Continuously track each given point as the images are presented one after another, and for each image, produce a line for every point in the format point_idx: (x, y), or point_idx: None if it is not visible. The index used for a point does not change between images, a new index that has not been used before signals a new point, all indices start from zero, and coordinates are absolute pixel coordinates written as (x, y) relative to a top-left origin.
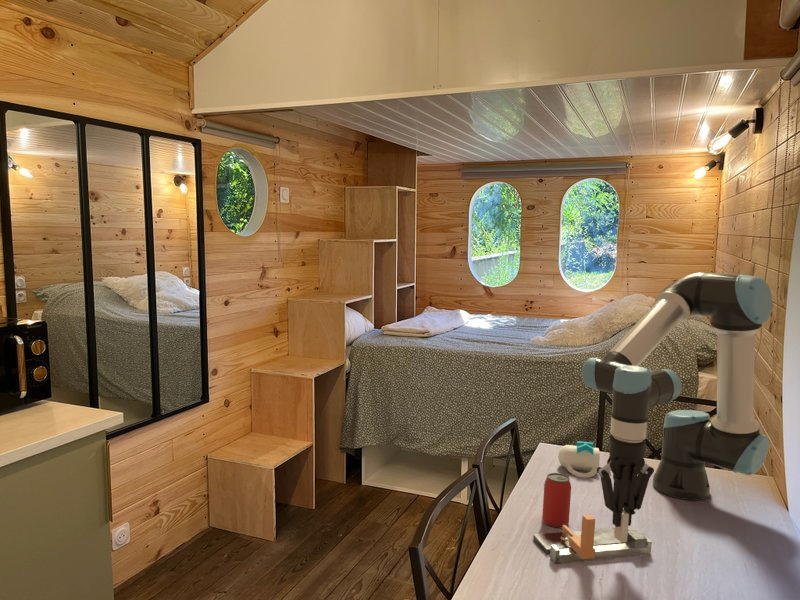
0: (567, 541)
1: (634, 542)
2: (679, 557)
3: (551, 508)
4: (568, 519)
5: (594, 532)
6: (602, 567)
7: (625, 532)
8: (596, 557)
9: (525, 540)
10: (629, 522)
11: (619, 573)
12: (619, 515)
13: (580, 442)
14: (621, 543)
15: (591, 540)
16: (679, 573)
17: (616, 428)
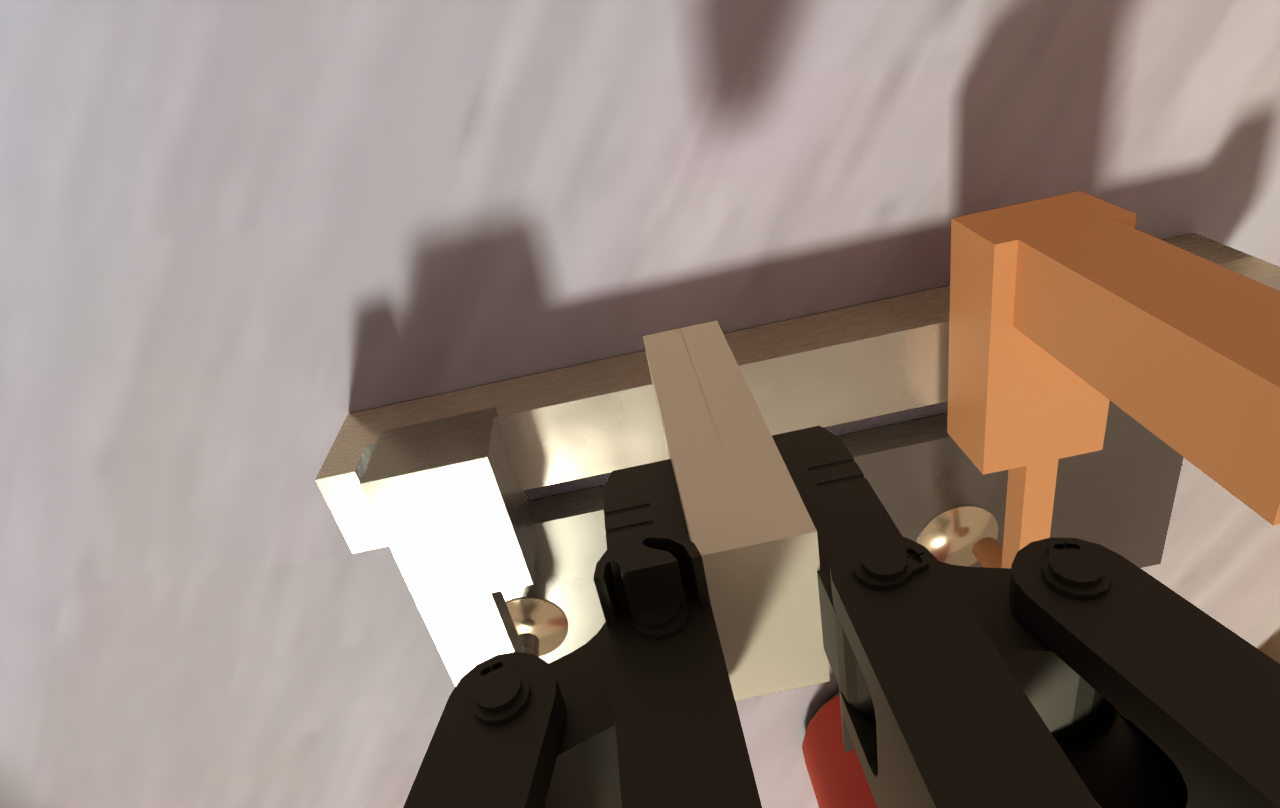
0: (975, 498)
1: (493, 446)
2: (101, 395)
3: None
4: (832, 735)
5: None
6: (834, 204)
7: (686, 383)
8: (840, 319)
9: (1196, 522)
10: (630, 495)
11: (729, 110)
12: (838, 537)
13: None
14: (555, 514)
15: (1110, 267)
16: (148, 133)
17: None
